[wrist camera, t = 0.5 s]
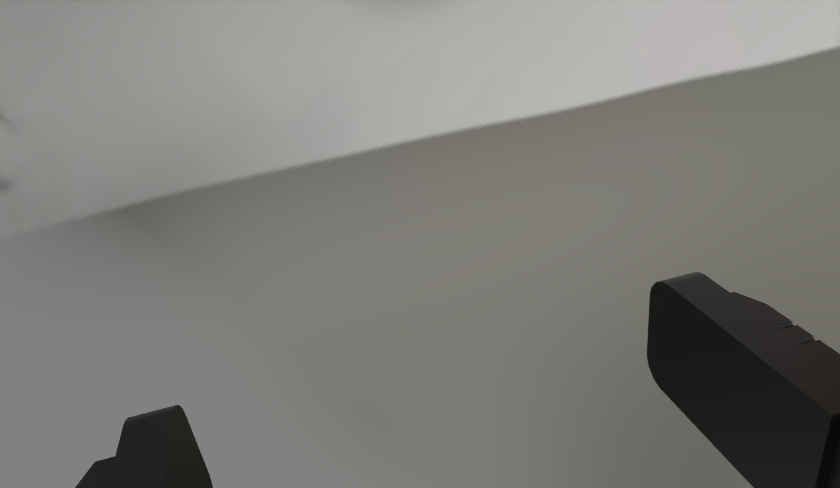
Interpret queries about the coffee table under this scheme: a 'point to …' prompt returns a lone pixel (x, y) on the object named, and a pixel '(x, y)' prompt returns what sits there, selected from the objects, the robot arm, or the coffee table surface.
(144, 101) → the coffee table surface
